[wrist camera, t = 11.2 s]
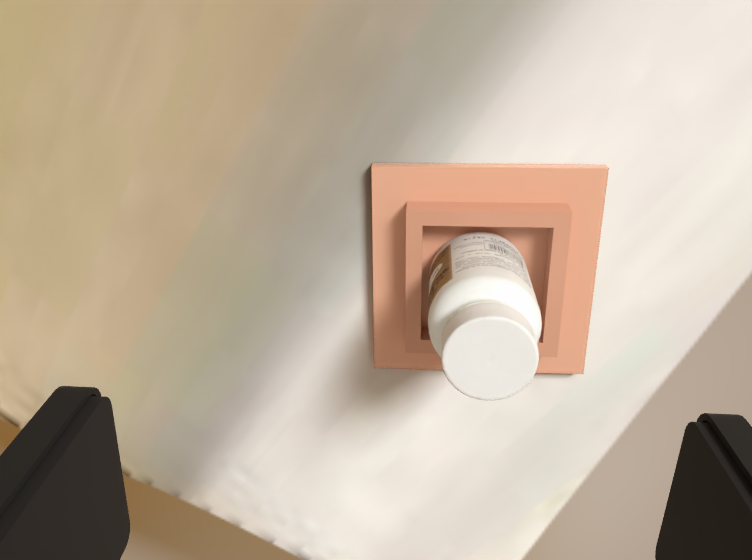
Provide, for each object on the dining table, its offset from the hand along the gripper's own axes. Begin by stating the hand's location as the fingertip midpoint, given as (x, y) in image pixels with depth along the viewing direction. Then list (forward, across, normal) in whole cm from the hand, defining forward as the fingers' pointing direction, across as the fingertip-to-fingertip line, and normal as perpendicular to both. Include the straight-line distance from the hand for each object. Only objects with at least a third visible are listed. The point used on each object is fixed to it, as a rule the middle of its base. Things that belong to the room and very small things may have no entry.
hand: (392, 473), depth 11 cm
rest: (+21, -4, +5) cm, 22 cm away
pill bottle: (+20, -4, +5) cm, 21 cm away
